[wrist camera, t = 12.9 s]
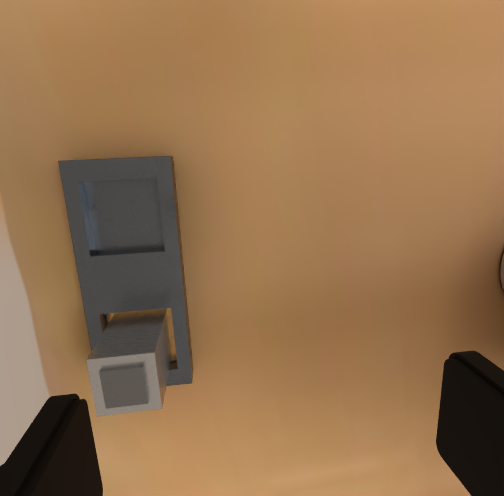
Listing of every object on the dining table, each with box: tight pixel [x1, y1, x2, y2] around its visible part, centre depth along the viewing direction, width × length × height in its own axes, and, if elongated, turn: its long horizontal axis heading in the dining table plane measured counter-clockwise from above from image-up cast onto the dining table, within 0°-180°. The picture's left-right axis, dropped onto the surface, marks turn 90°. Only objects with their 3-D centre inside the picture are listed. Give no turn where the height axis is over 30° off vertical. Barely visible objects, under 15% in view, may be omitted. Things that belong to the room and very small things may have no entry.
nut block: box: [86, 310, 172, 416], centre depth 31 cm, size 5×5×8 cm
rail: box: [58, 156, 193, 386], centre depth 33 cm, size 9×22×2 cm, turn 2°
